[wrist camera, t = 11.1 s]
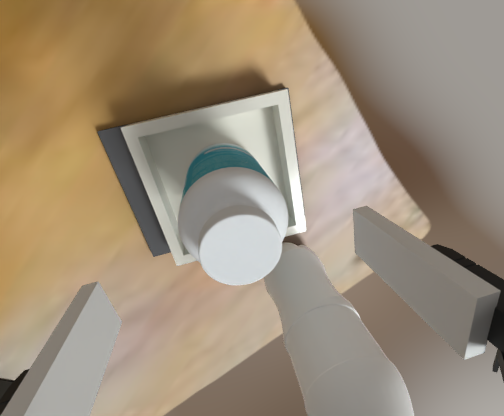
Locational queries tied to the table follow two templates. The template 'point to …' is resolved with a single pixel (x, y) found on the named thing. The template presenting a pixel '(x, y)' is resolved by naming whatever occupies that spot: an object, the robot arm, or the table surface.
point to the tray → (209, 133)
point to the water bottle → (331, 343)
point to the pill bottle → (232, 215)
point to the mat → (140, 186)
